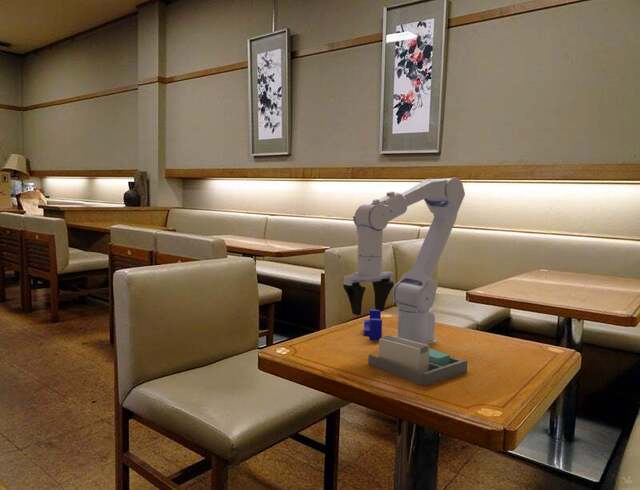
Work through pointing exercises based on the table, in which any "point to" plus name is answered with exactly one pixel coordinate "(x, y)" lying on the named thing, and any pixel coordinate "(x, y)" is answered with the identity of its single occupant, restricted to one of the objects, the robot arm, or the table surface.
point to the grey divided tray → (426, 378)
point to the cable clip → (373, 325)
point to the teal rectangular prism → (439, 358)
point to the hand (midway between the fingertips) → (368, 312)
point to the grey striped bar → (405, 353)
